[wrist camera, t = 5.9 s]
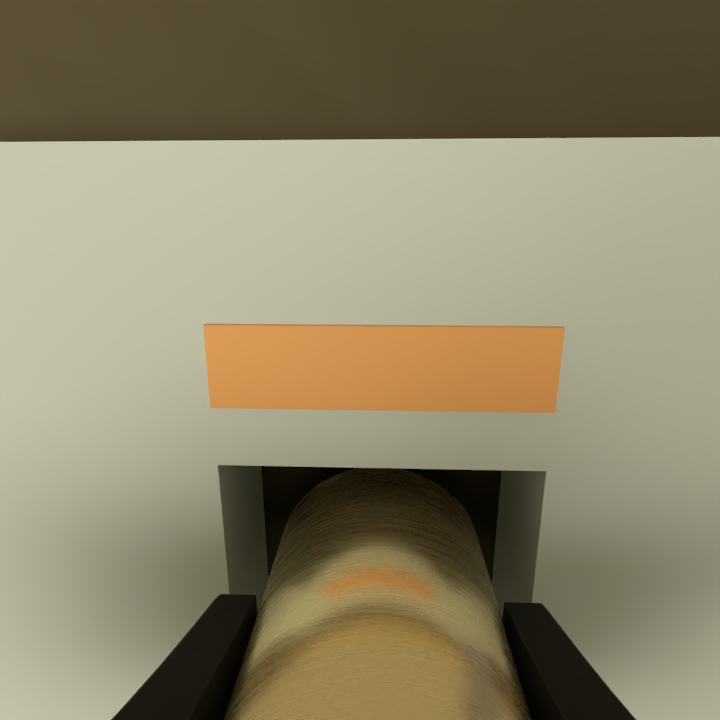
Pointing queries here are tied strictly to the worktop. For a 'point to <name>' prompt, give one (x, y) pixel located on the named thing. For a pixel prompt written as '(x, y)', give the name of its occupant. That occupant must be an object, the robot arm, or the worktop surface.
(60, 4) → the worktop surface
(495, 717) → the cylinder
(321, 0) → the worktop surface
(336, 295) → the plate
